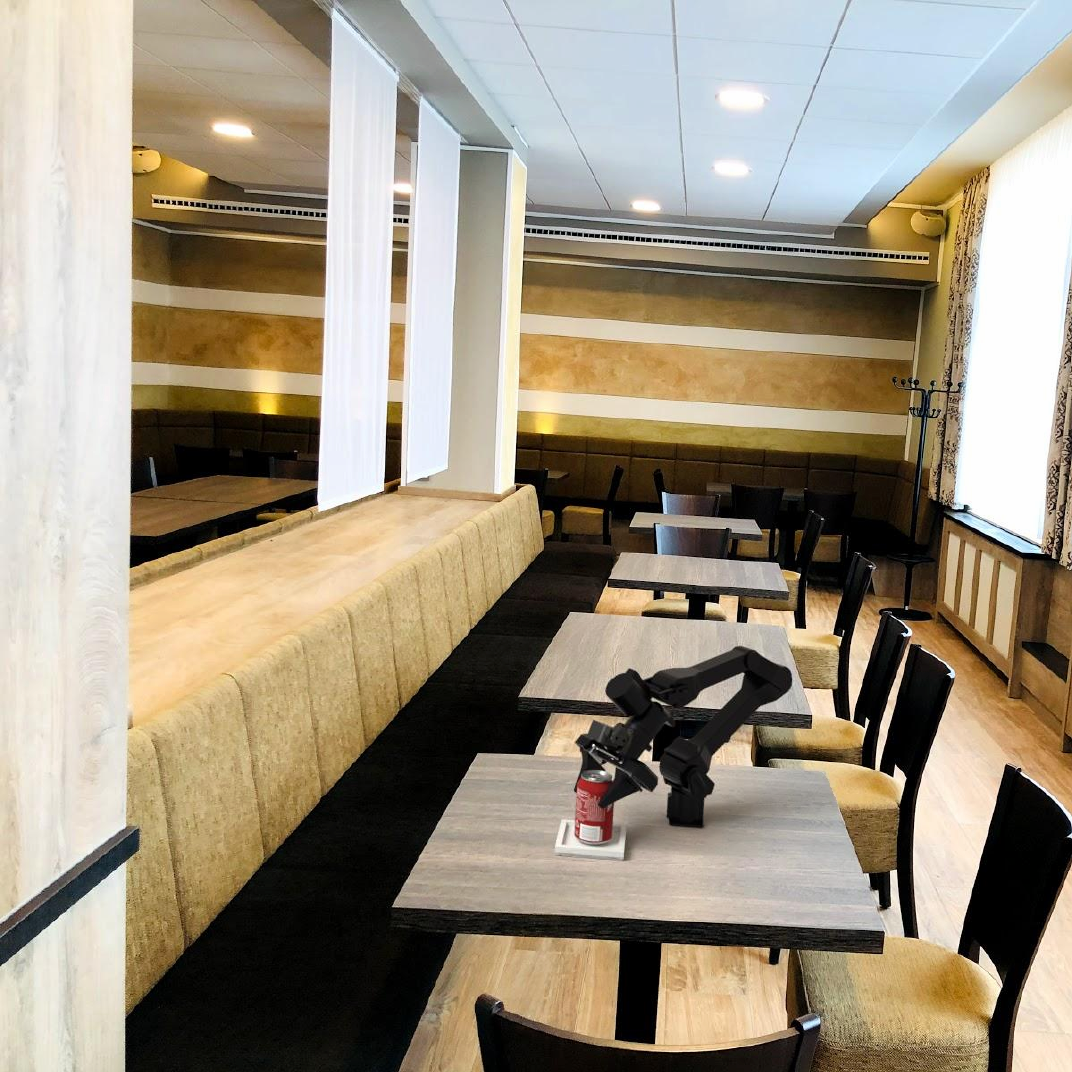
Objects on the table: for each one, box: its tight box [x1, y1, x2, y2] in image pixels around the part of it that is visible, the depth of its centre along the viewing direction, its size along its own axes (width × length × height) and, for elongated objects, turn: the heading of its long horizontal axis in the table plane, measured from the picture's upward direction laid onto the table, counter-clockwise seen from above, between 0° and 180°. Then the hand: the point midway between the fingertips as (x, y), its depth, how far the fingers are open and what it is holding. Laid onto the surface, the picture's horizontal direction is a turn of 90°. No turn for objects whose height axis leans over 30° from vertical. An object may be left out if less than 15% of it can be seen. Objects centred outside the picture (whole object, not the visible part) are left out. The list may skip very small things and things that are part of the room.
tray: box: [554, 818, 628, 862], centre depth 198 cm, size 12×12×2 cm
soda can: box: [574, 770, 615, 845], centre depth 197 cm, size 7×7×12 cm
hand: (587, 799), depth 196 cm, fingers open, 7 cm apart
